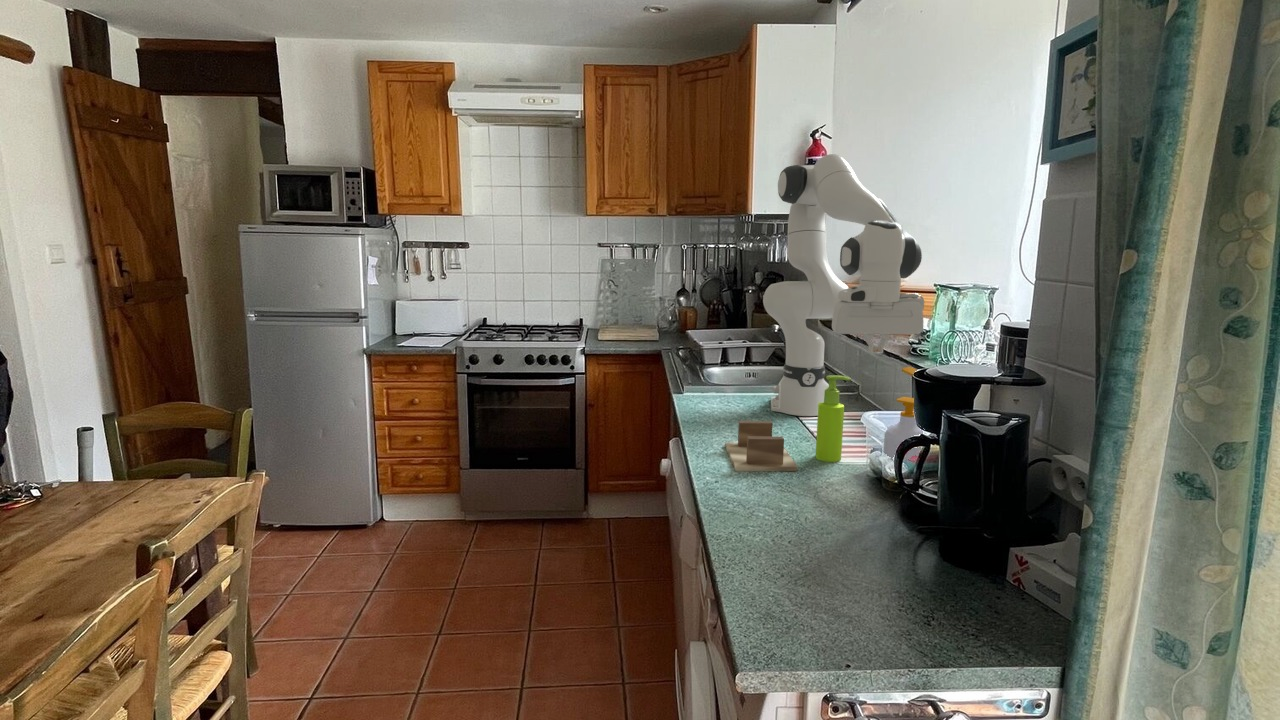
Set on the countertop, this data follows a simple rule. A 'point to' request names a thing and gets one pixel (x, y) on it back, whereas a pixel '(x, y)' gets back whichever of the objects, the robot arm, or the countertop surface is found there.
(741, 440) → the u rest
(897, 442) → the soap bottle
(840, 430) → the soap dispenser
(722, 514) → the countertop surface
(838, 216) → the robot arm
